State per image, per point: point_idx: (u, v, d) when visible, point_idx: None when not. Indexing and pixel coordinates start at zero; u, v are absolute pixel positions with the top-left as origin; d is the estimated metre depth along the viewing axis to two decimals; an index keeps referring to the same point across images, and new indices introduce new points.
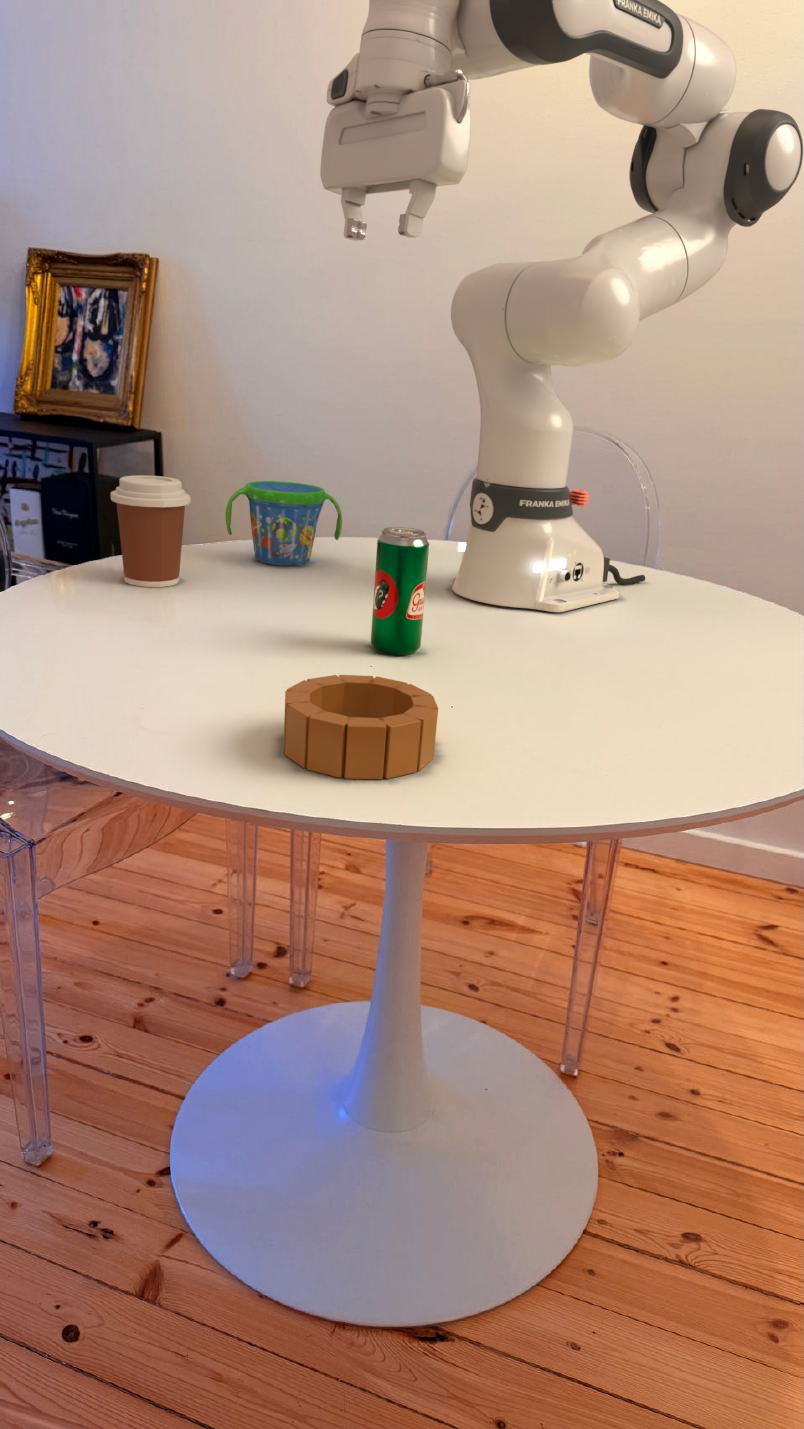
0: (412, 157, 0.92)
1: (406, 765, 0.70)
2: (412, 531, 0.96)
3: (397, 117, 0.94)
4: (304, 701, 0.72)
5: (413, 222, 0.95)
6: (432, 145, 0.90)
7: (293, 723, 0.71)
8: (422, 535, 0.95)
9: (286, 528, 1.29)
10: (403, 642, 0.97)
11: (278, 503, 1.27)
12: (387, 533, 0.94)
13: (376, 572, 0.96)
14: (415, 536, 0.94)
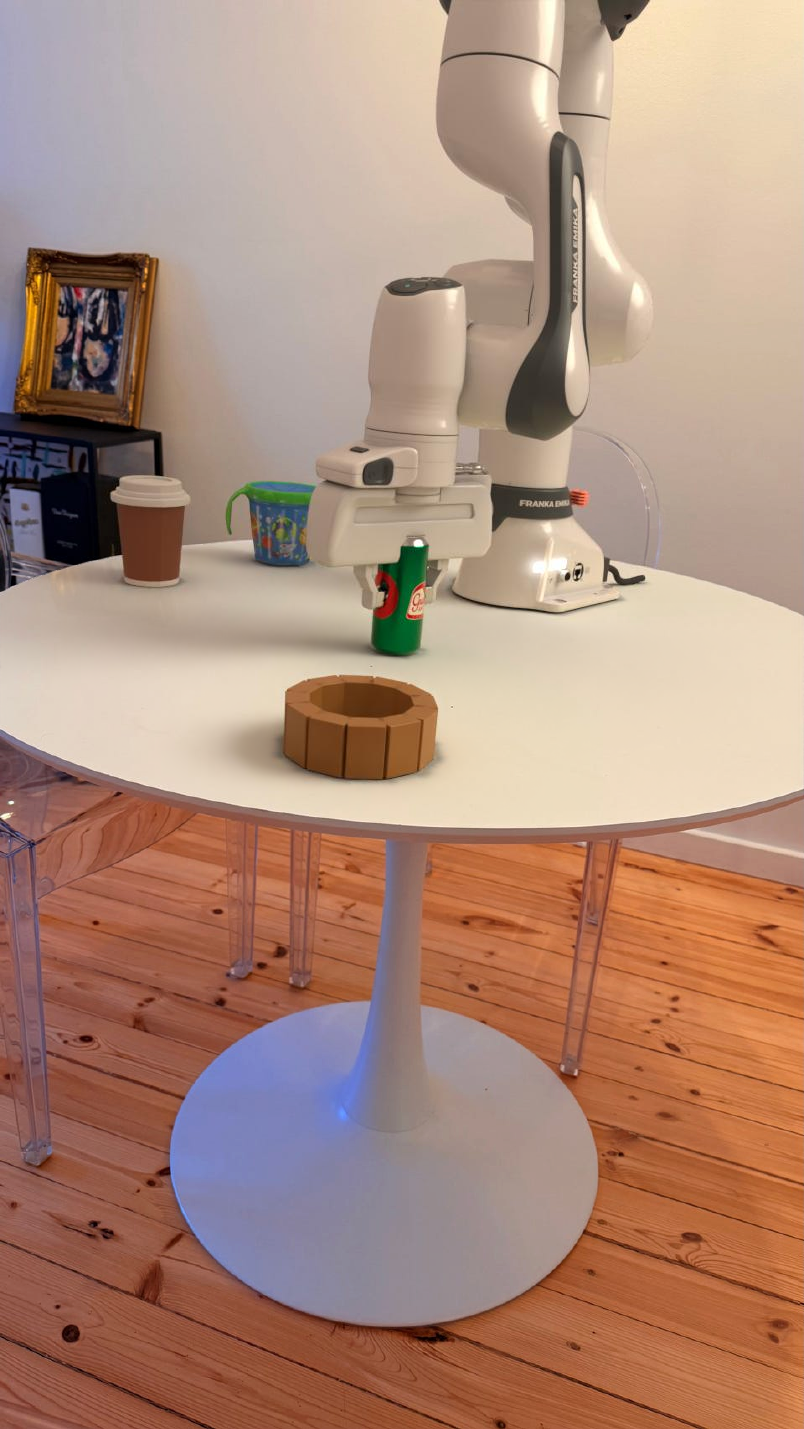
0: (461, 542, 0.98)
1: (406, 765, 0.70)
2: None
3: (436, 504, 0.95)
4: (304, 701, 0.72)
5: None
6: (484, 533, 1.00)
7: (293, 723, 0.71)
8: (422, 535, 0.95)
9: (286, 528, 1.29)
10: (403, 642, 0.97)
11: (278, 503, 1.27)
12: None
13: None
14: (415, 536, 0.94)
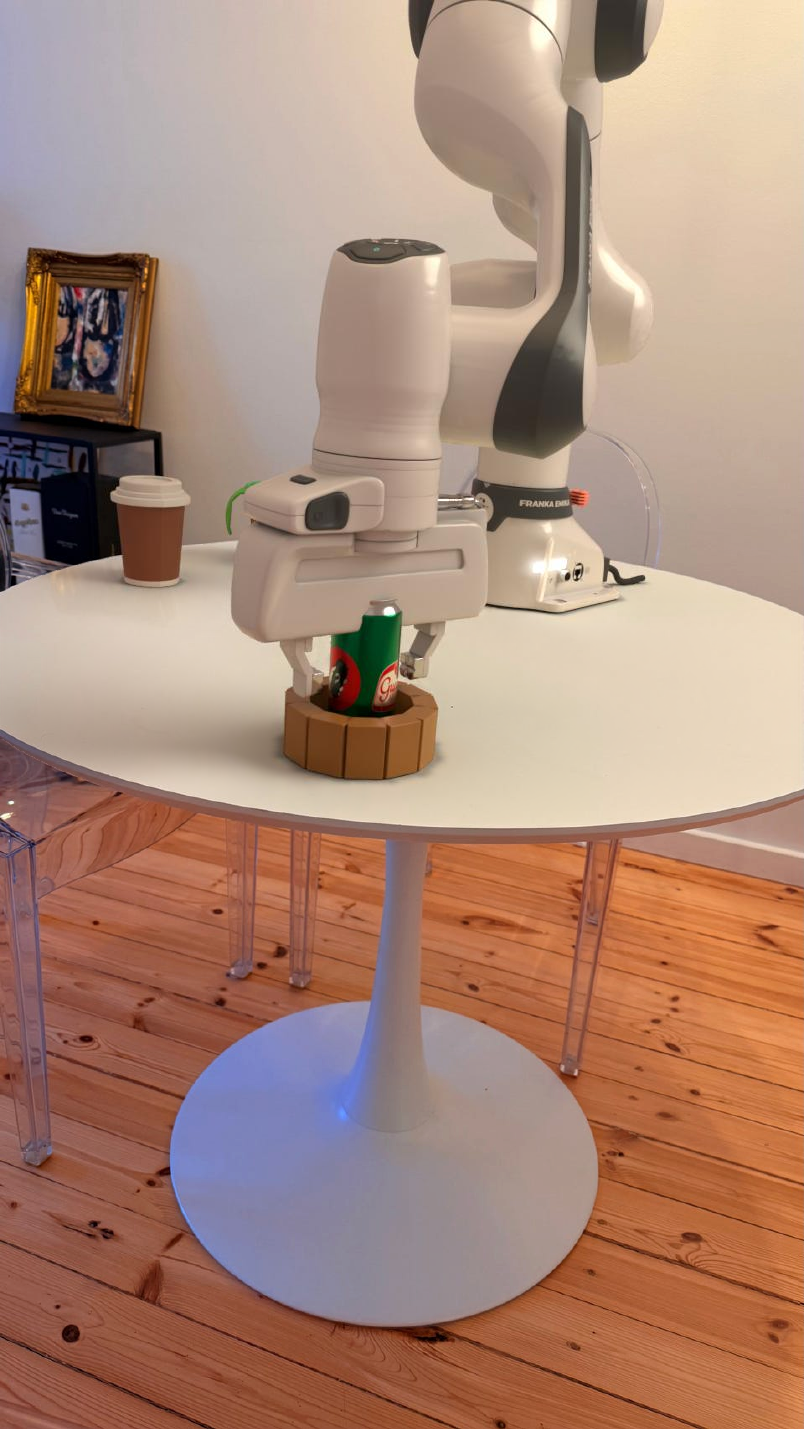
0: (447, 600, 0.73)
1: (406, 765, 0.70)
2: None
3: (412, 551, 0.70)
4: (304, 701, 0.72)
5: None
6: (478, 587, 0.74)
7: (293, 723, 0.71)
8: (393, 600, 0.70)
9: None
10: None
11: None
12: None
13: (331, 648, 0.71)
14: (383, 602, 0.69)
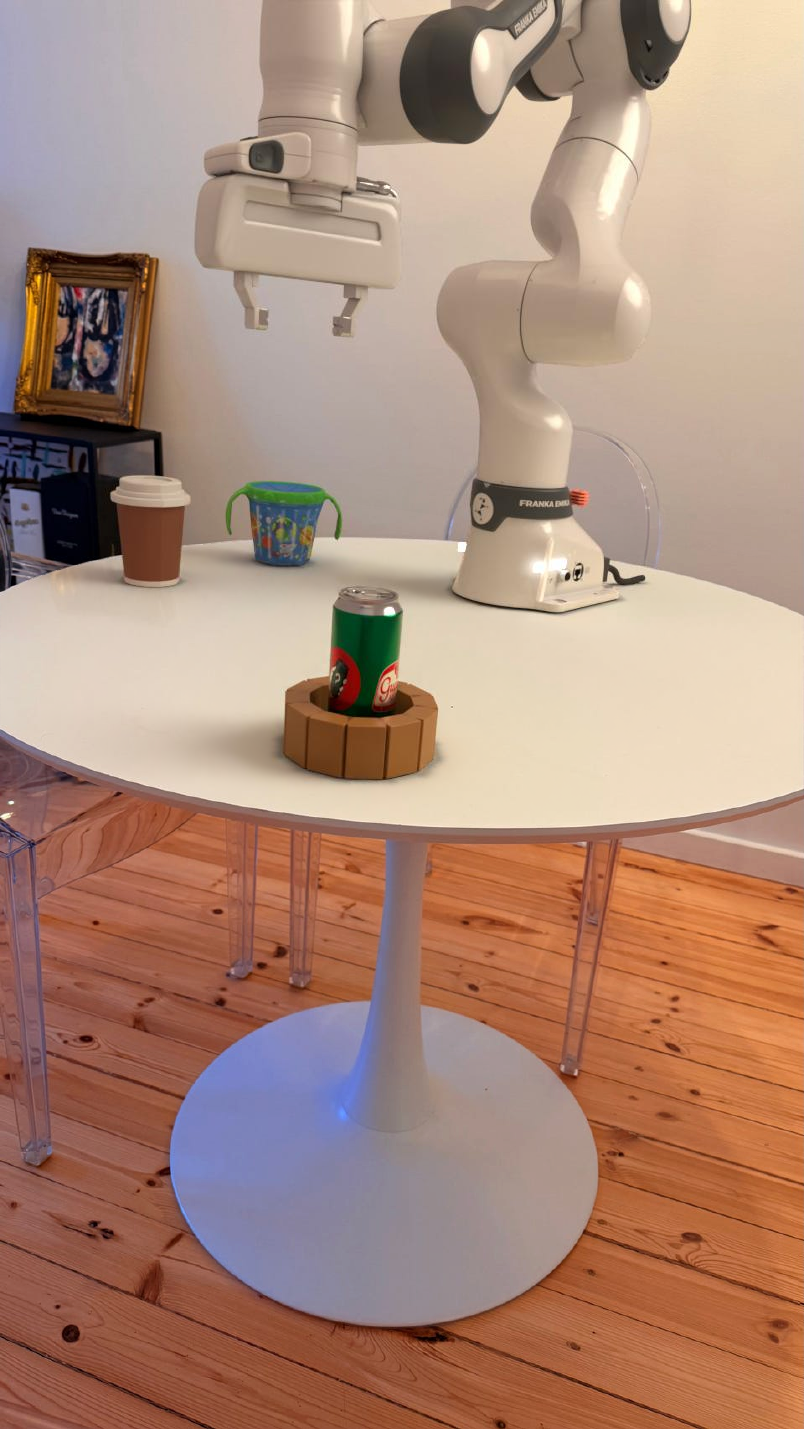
0: (368, 266, 0.92)
1: (406, 765, 0.70)
2: (380, 593, 0.71)
3: (337, 215, 0.89)
4: (304, 701, 0.72)
5: None
6: (394, 261, 0.94)
7: (293, 723, 0.71)
8: (393, 600, 0.70)
9: (286, 528, 1.29)
10: None
11: (278, 503, 1.27)
12: (345, 597, 0.69)
13: (331, 648, 0.71)
14: (383, 602, 0.69)
